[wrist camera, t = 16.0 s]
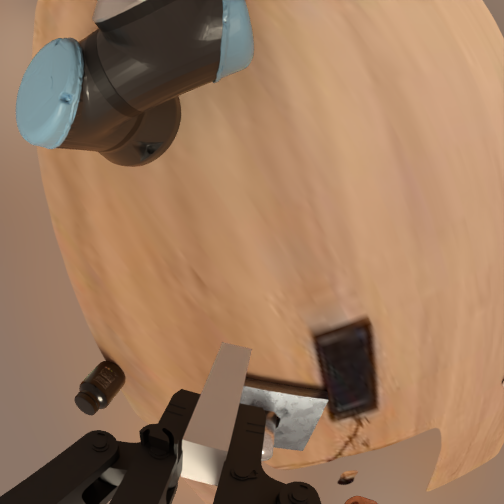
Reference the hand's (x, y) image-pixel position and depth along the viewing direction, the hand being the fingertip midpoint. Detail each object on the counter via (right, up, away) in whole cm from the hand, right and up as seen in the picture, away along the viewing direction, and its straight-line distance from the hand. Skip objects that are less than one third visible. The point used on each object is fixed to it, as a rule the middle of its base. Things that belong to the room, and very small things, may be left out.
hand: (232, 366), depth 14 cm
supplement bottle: (-29, -20, +39) cm, 52 cm away
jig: (+3, -25, +36) cm, 44 cm away
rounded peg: (+3, -25, +36) cm, 44 cm away
